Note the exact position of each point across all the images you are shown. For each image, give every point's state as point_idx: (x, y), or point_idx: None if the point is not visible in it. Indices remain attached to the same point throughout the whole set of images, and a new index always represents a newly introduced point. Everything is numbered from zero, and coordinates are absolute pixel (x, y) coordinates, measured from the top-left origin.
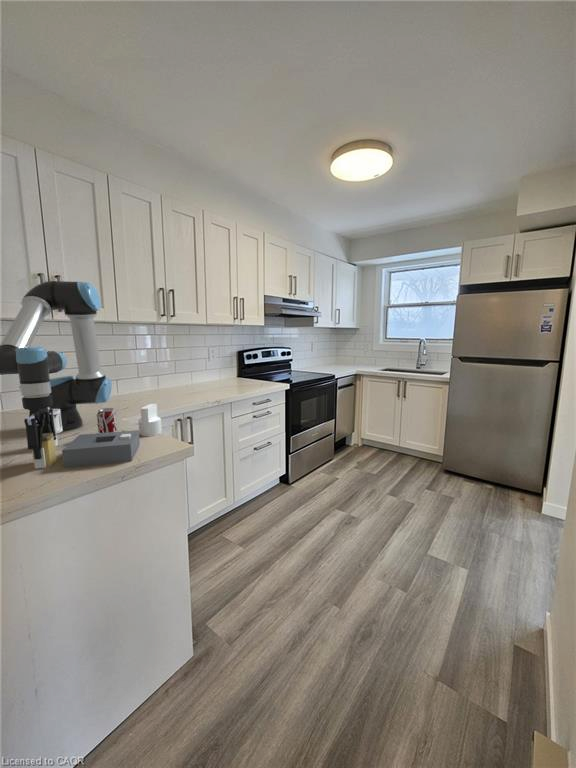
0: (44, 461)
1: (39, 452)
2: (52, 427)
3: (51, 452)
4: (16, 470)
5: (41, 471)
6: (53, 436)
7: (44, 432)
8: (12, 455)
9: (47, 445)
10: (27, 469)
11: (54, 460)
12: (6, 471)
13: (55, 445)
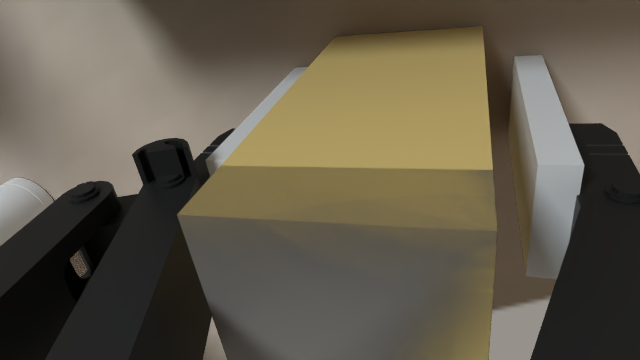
0: (547, 79)
1: (619, 169)
2: (7, 300)
3: (411, 73)
4: (497, 261)
5: (626, 52)
6: (218, 169)
7: (188, 338)
8: (206, 351)
9: (489, 137)
10: (504, 197)
11: (375, 39)
12: (493, 310)
13: (30, 188)
